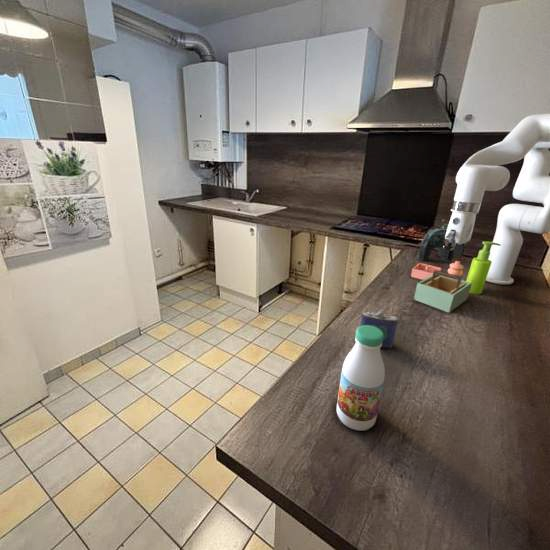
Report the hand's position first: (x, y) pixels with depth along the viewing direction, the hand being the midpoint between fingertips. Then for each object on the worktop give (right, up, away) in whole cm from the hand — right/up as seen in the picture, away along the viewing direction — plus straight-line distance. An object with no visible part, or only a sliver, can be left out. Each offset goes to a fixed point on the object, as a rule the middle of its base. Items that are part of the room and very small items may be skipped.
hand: (451, 258), depth 99 cm
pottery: (+8, -8, +24) cm, 26 cm away
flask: (-32, -25, -18) cm, 45 cm away
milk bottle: (-44, -34, -40) cm, 69 cm away
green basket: (0, -15, +7) cm, 16 cm away
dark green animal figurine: (+21, +2, +49) cm, 54 cm away
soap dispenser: (+17, -13, +14) cm, 25 cm away
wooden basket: (0, -14, +6) cm, 16 cm away
